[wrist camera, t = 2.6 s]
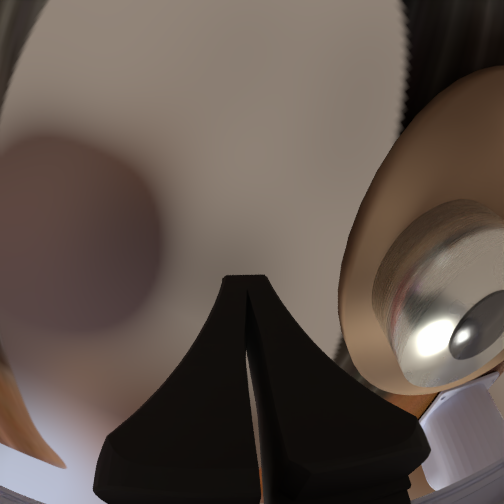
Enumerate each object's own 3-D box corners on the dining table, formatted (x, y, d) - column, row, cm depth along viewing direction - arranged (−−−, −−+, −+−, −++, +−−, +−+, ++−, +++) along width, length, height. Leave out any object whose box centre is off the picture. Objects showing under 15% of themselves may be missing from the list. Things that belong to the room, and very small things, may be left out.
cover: (467, 325, 14) (498, 371, 11) (354, 343, 13) (378, 405, 10) (517, 205, 10) (567, 244, 7) (394, 193, 10) (451, 244, 7)
